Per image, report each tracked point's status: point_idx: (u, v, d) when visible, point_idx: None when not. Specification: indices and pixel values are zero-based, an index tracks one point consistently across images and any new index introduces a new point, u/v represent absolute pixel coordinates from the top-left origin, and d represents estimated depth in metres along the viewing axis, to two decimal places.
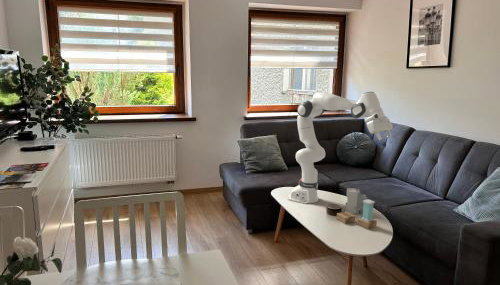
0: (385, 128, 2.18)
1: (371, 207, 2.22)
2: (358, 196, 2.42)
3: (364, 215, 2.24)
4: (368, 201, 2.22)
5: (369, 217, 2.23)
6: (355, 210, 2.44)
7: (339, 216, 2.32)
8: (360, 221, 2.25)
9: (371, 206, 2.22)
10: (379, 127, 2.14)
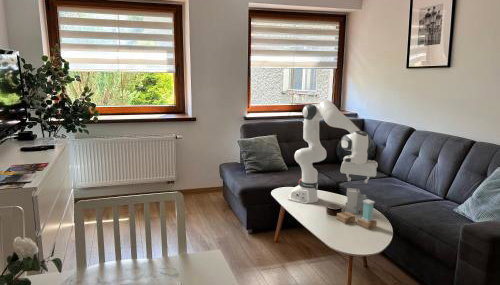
0: (361, 173, 2.13)
1: (371, 207, 2.22)
2: (358, 196, 2.42)
3: (364, 215, 2.24)
4: (368, 201, 2.22)
5: (369, 217, 2.23)
6: (355, 210, 2.44)
7: (339, 216, 2.32)
8: (360, 221, 2.25)
9: (371, 206, 2.22)
10: (349, 170, 2.15)
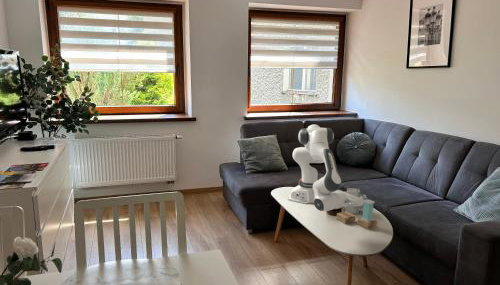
0: None
1: (371, 207, 2.22)
2: (358, 196, 2.42)
3: (364, 215, 2.24)
4: (368, 201, 2.22)
5: (369, 217, 2.23)
6: (355, 210, 2.44)
7: (339, 216, 2.32)
8: (360, 221, 2.25)
9: (371, 206, 2.22)
10: None
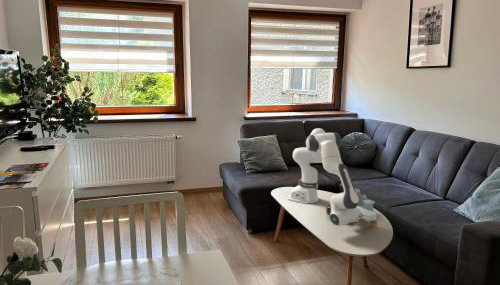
0: None
1: (371, 207, 2.22)
2: None
3: None
4: (368, 201, 2.22)
5: None
6: None
7: None
8: (360, 221, 2.25)
9: (371, 206, 2.22)
10: None
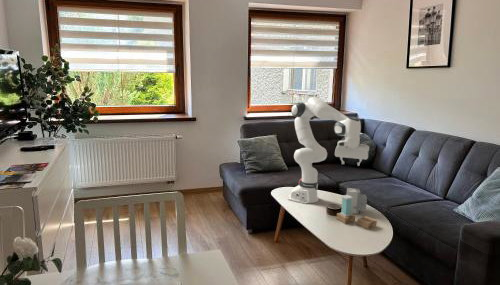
0: (353, 156, 2.28)
1: (349, 202, 2.29)
2: (358, 196, 2.42)
3: (342, 210, 2.32)
4: (346, 196, 2.30)
5: (347, 212, 2.30)
6: (355, 210, 2.44)
7: (339, 216, 2.32)
8: (360, 221, 2.25)
9: (349, 201, 2.29)
10: (343, 154, 2.31)
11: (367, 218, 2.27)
